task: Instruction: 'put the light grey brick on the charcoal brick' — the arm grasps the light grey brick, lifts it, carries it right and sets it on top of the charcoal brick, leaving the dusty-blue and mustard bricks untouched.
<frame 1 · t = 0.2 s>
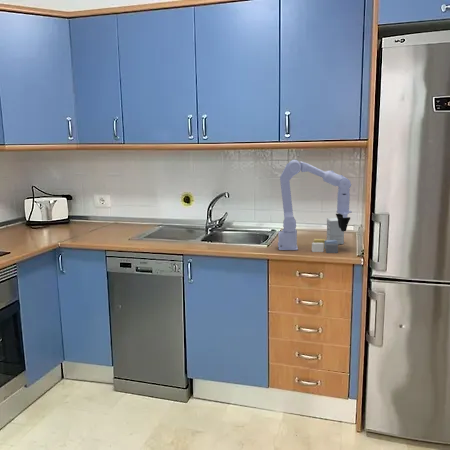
hand: (342, 229, 230), 10 cm above the table, fingers open, 7 cm apart
blue brick: (330, 248, 234), on the table
mustard brick: (319, 247, 237), on the table
supplement box: (334, 243, 245), on the table
light grey brick: (317, 251, 229), on the table
charcoal brick: (331, 252, 227), on the table
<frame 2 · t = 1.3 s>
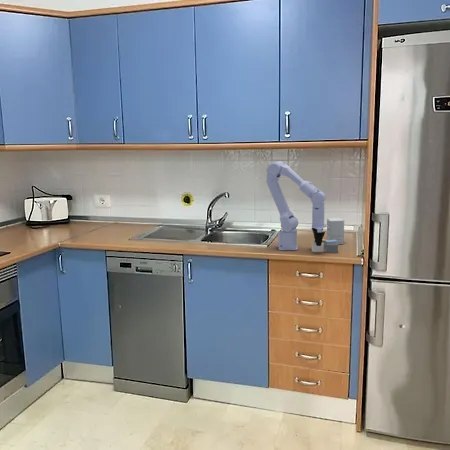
hand: (317, 243, 229), 4 cm above the table, fingers open, 7 cm apart
nothing on the table moved.
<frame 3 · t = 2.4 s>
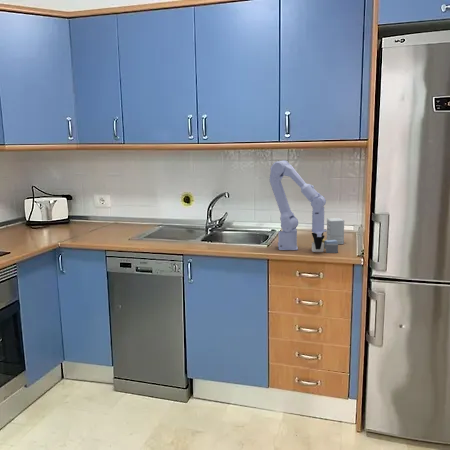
hand: (317, 248, 229), 1 cm above the table, fingers closed on light grey brick, 3 cm apart
light grey brick: (317, 251, 229), on the table, touching gripper
everything else where it was.
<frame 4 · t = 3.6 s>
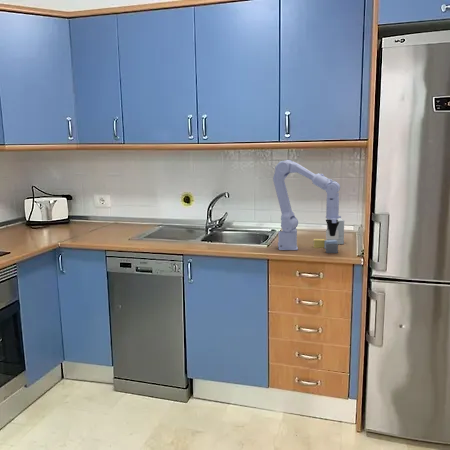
hand: (331, 235, 225), 8 cm above the table, fingers closed on light grey brick, 3 cm apart
light grey brick: (332, 238, 225), point 7 cm above the table, touching gripper
everything else where it was.
when the fingers open (6 cm above the table, at t = 4.2 s): light grey brick stays where it is, resting on charcoal brick.
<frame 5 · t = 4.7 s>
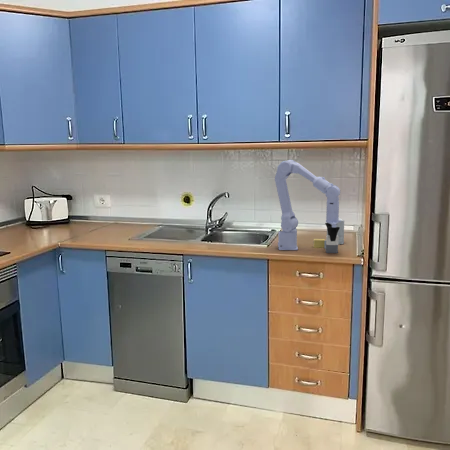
hand: (331, 239, 225), 6 cm above the table, fingers open, 7 cm apart
light grey brick: (332, 244, 226), point 4 cm above the table, touching charcoal brick
charcoal brick: (331, 252, 227), on the table, touching light grey brick
everything else where it was.
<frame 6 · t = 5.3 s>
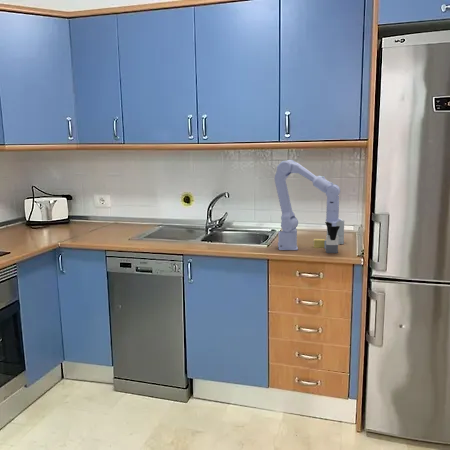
hand: (331, 238, 225), 7 cm above the table, fingers open, 7 cm apart
nothing on the table moved.
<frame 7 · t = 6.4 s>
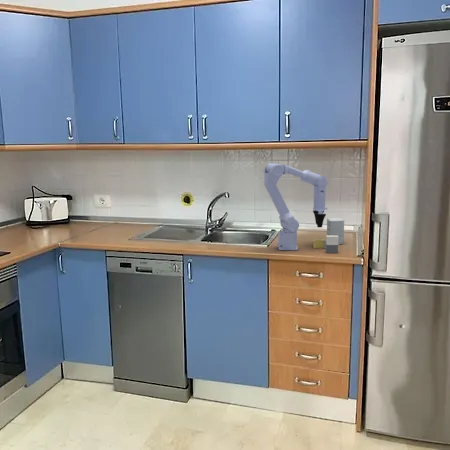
hand: (318, 225, 238), 10 cm above the table, fingers open, 7 cm apart
nothing on the table moved.
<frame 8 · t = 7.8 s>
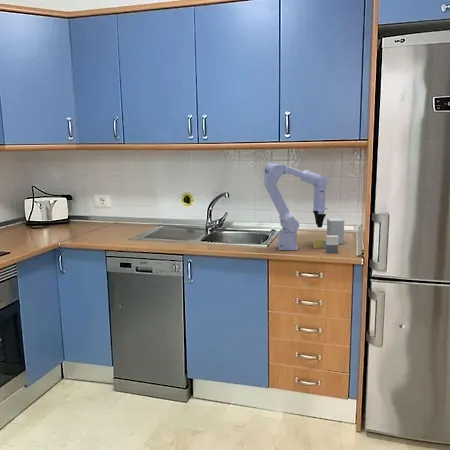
hand: (318, 225, 238), 10 cm above the table, fingers open, 7 cm apart
nothing on the table moved.
at the end: light grey brick 0.1 cm off-centre on the charcoal brick, point 4.0 cm above the charcoal brick's base; blue brick moved 0.1 cm from its start; mustard brick moved 0.1 cm from its start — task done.
